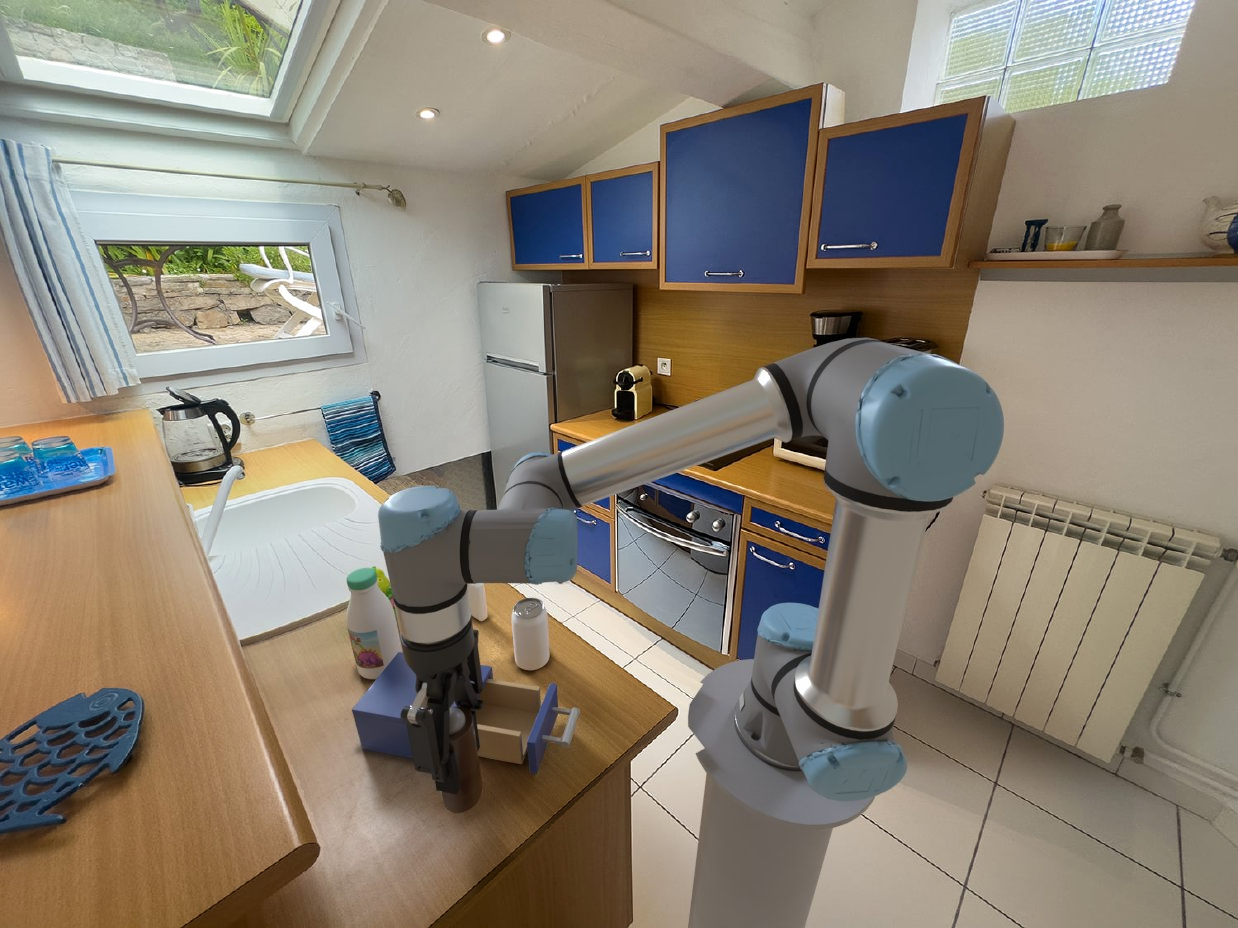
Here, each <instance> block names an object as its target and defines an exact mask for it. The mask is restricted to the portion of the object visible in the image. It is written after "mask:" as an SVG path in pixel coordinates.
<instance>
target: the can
mask: <svg viewBox="0 0 1238 928" xmlns="http://www.w3.org/2000/svg"><path fill="white" fill-rule="evenodd" d="M548 616H549V615H548V610H547V609H546V606H545V603H544V601H543V600H541V599H539V598H537V597H525V598H522V599H520V600H518V601H517V602H516V603H515V604H513V608H512V612H511V631H512V642H513V652H514V653H513V655H514V662H515V664H516V666H518V668H520V669H522V670H524V671H529V672H530V671H531V672H532V671H537V670H540V669H542V668H543V667H545V665H546V664H548V662H549V660H550V633H549V617H548Z"/></svg>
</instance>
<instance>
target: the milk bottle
mask: <svg viewBox="0 0 1238 928" xmlns="http://www.w3.org/2000/svg"><path fill="white" fill-rule="evenodd" d="M346 584H347V587H348V589H347V590H348V591H349V592H350V598H349V600H350V602H349V605H348V604H347V608H346V612H345V613H346V614H345V621H346V623H345V624H346V628H347V634H348V637H349V641H350V645H351V649H352V654H353V658H354V661H355V666H356V669H357V672H358V674H359V675H360V676H361V677H363V678H364V679H367V680H376V679H377V678H378V677H379V675H380V674H381V673H382V672H383V671H384V669H385V668H386V667H387V666H388V664H389V663H390V662H391V661H392V659H393V658H394V657H395V656H396V654H397V653H398V652H402V653H403V650H402V645H401V640H400V631H399V627H398V625H397V622H396V618H395V613H394V610H393V607H392V604H391V602H390V600H389V599H388V598H387V596H386V595H385V594H384V593H383V592H382V591H381V590H380V589H379V587H378V585H377V584H378V579H377V574H376V571H375V570H374V569H372V567H361V568H357V569H355V570H353V571H352V572H350V573H348V575H347V576H346Z"/></svg>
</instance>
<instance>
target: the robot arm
mask: <svg viewBox="0 0 1238 928" xmlns="http://www.w3.org/2000/svg"><path fill="white" fill-rule="evenodd" d="M1002 407H1003V406H1002V404H1001V401H1000V399H999V397H998V395H997V393H996V391H995V390H994V389H993V388H992V387H991V386H990V384H989V383H988V382H987V381H986V380H985V378H983V377H982V376H981V375H979V374H978V373H977V372H975V371H973V370H972V369H970V368H967V367H964V366H962V365H960V364H958V363H956V361H953V360H951V359H949V358H947V357H944V356H941V355H938V354H931V353H927V352H924V351H919V350H915V349H911V348H907V347H903V346H899V345H895V344H891V343H889V342H887V341H884V340H880V339H876V338H870V337H852V338H844V339H840V340H836V341H831V342H827V343H825V344H822V345H819V346H815V347H812V348H809V349H806V350H804V351H801V352H799V353H796V354H793V355H790V356H788V357H785V358H783V359H780V360H777V361H775V362H772V363H769V364H766V365H764V366H762V367H759V368H758V369H757V371H756V373H755V374H754V377H753V378H752V379H751V380H748V381H746V382H743V383H741V384H738V385H735V386H732V387H730V388H726V389H724V390H722V391H719V392H717V393H714V394H711V395H708V396H706V397H704V398H701V399H698V400H695V401H692V402H690V403H688V404H685V405H682V406H679V407H678V408H677V407H676V408H674V409H671V410H668V411H667V412H663V413H661V414H659V415H656V416H653V417H650V418H648V419H645V420H642V421H640V422H637V423H635V424H632V425H629V426H626V427H624V428H622V429H618V430H616V431H613V432H610V433H608V434H604V435H603V436H600V437H597V438H595V439H591V440H589V441H587V442H584V443H581V444H578V445H576V446H573V447H571V448H567V449H565V450H562V451H559V452H556V453H554V454H552V453H549V452H544V451H534V452H529V453H528V454H526V455H524V456H522V457H521V458H520V459H519V460H518V461H517V462H516V463H515V465H514V467H513V468H512V469H511V470H510V472H509V474H508V477H507V480H506V482H505V487H504V491H503V494H502V496H501V498H500V501H499V504H498V506H497V509H461V506H460V503H459V502H458V499H457V496H456V494H455V493H454V492H453V491H452V490H451V489H449V488H446V487H440V486H437V485H419V486H412V487H409V488H405V489H401V490H400V491H397V492H395V493H393V494H392V495H390V496H389V497H387V498H386V499H385V500H384V502H383V503H382V504H381V505H380V507H379V509H378V512H377V519H378V526H379V527H378V528H379V535H380V536H379V537H380V550H381V551H382V553H383V557H384V562H385V567H386V571H387V576H388V580H389V582H390V588H391V589H392V597H393V601H394V605H395V610H396V616H397V621H398V625H397V627H398V632H399V637H400V642H401V647H402V652H403V655H404V660H405V662H406V664H407V665H408V666H409V667H410V669H411V670H412V671H413V672H414V673H415V675H416V684H415V690H416V693H417V696H416V698H415V700H414V702H413V704H412V706H411V707H409V706H404V707H403V709H402V711H401V715H400V717H401V719H402V720H403V721H404V722H405V724H406V725H407V731H408V736H409V741H410V746H411V751H412V756H413V759H412V761H413V762H412V763H413V766H414V770H415V772H420V773H425V774H429V775H431V780H432V781H434V786H435V790H436V791H437V792H441V793H442V792H446V793H451V794H456V795H457V793H458V791H459V789H460V787H459V781H458V775H457V769H456V762H455V756H454V752H452V751H449V723H450V707H451V706H452V705H453V703H454V701H455V704H456V706H460V707H464V708H466V709H468V710H469V711H470V712H471V713H472V715H473V721H474V728H475V736H476V743H477V751H478V750H479V748H480V743H479V735H478V727H477V720H476V711H475V709H477V710H481V708H482V706H483V700H478V699H477V697H476V696H477V694H481V693H482V691H483V681H482V673H481V666H480V665H481V660H480V652H479V633H480V632H479V630H478V629H474V627H473V619H472V615H471V606H470V599H469V592H468V586H467V584H476V583H484V584H520V585H521V584H522V585H523V584H525V585H526V584H528V585H529V584H530V585H535V586H539V585H542V584H544V583H558V582H560V583H561V582H568V581H570V580H572V579H573V578H574V577H575V576H576V574H577V571H578V555H579V553H578V552H579V551H578V550H579V540H578V539H579V538H578V537H579V536H578V535H579V534H578V529H579V527H578V517H577V514H576V513H575V512H574V511H575V510H577V509H580V508H583V507H584V506H587V505H589V504H593V503H596V502H599V501H601V500H604V499H607V498H610V497H612V496H615V495H618V494H621V493H624V492H626V491H629V490H632V489H635V488H637V487H640V486H643V485H646V484H649V483H652V482H655V481H657V480H660V479H664V478H666V477H669V476H672V475H674V474H678V473H680V472H682V471H686V470H688V469H692V468H693V467H696V466H700V465H703V464H705V463H708V462H710V461H714V460H717V459H719V458H722V457H724V456H728V455H730V454H733V453H735V452H739V451H741V450H745V449H748V448H750V447H752V446H755V445H758V444H762V443H764V442H767V441H769V440H772V439H776V440H778V441H780V442H783V443H789V442H792V441H794V440H797V439H800V438H804V437H809V436H810V437H811V436H818V437H824V438H825V439H826V440H827V441H828V443H827V450H826V457H825V465H824V472H823V473H824V474H823V481H822V482H823V485H824V486H825V488H826V489H827V490H828V491H829V492H830V493H831V494H832V496H833V497H834V498H835V501H834V502H835V503H834V509H833V516H832V522H831V527H830V535H829V541H828V546H827V554H826V558H825V559H826V561H825V567H824V571H823V578H822V585H821V592H820V598H819V604H818V607H814V606H812V605H809V604H805V603H799V602H781V603H776V604H774V605H772V606H770V607H768V609H766V610H764V611H763V613H762V615H761V618H760V621H759V624H758V626H757V637H756V643H755V650H754V657H753V659H754V663H753V670H752V677H751V681H750V682H749V684H748V685H747V686H746V688H745V689H744V691H743V692H742V694H741V695H740V697H739V699H738V701H737V703H736V707H735V714H734V724H735V728H736V732H737V734H738V736H739V738H740V740H741V741H742V743H743V744H744V745H745V747H746V748H747V749H748V750H749V751H750V752H751V753H752V754H753V755H754V756H756V757H757V758H758V759H760V760H761V761H763V762H765V763H766V764H768V765H771V766H773V767H775V768H778V769H782V770H786V771H803V772H804V774H805V776H806V778H807V781H808V783H809V785H810V786H811V788H812V789H813V790H814V791H815V792H816V793H818V794H820V795H822V796H824V797H826V798H828V799H831V800H836V801H857V800H863V799H867V798H871V797H874V796H875V797H877V796H880V795H882V794H884V793H886V792H888V791H889V790H892V789H893V788H894V787H895V786H897V785H898V784H899V783H901V781H902V780H903V778H904V777H905V775H906V774H907V770H908V760H907V758H906V756H905V754H904V748H903V747H902V746H901V745H900V744H899V743H897V741H896V739H895V737H894V734H893V733H894V732H893V729H894V726H895V722H896V718H897V714H898V708H899V706H898V705H899V702H898V696H897V693H896V691H895V688H894V687H893V686H892V685H891V682H890V678H891V674H892V670H893V667H894V666H893V665H894V662H895V657H896V654H897V651H898V650H897V649H898V645H899V642H900V637H901V633H902V629H903V625H904V620H905V616H906V613H907V608H908V604H909V600H910V595H911V592H912V588H913V583H914V581H915V576H916V571H917V567H918V564H919V559H920V554H921V551H922V547H923V543H924V539H925V534H926V530H927V527H928V522H929V518H930V516H931V515H934V514H937V513H939V512H942V511H945V510H947V509H948V508H949V507H950V506H951V505H952V502H953V501H954V497H957V496H959V495H961V494H963V493H965V492H967V491H968V490H970V488H972V487H974V486H975V485H976V480H975V478H976V477H978V476H979V475H982V476H984V475H986V474H987V473H988V471H989V470H990V469H991V467H992V466H993V464H994V463H995V461H996V459H997V457H998V455H999V452H1000V451H1001V447H1002V444H1003V439H1004V433H1005V418H1004V412H1003V408H1002ZM470 681H473V682H474V683H472V682H470Z"/></svg>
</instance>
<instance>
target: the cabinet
mask: <svg viewBox="0 0 1238 928" xmlns="http://www.w3.org/2000/svg"><path fill="white" fill-rule="evenodd" d="M402 652H403V651H402ZM402 652H398V653H397V654H396V656H395V657H394V658H393V659H392V661H391V662H390V663H389V664H388V666H387V667H386V668H385V669H384V671H383V672H382V673H381V674H380V675H379V677H378V678H377V679H374V682H372V684H371V685H370V686H369V688H368V689H367V690H366V691H365V693H364V694H363V695H362V696H361V698H360V699H358V701H357V703H355V704H354V706H353V707H352V708H351V712H352V717H353V719H354V723H355V727H356V731H357V735H358V738H359V743H360V746H361V749H362V750H366V751H371V752H376V753H381V754H385V755H391V756H397V757H401V758H407V759H411V760H413V756H412V751H411V746H410V741H409V736H408V731H407V725H406V724H405V722H404V721H403V720H402V719H401V717H400V715H401V711H402V709H403V707H404V706H409V707H411V706H412V704H413V702H414V700H415V698H416V696H417V693H416V690H415V684H416V675H415V673H414V672H413V671H412V670H411V669H410V667H409V666H408V665H407V664H406V662H405V660H404V655H403V653H402ZM480 666H481V673H482V681H483V687H484V685H485V683H486V681H487V679H494V673H493V666H491V665H484V664H480ZM470 682H472V683H474V682H473V681H470ZM478 696H479V694H477V696H476V697H477V698H478ZM451 707H456V704H455V701H454V703H453V705H452V706H451ZM451 707H450V708H451ZM459 707H460V706H459Z"/></svg>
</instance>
